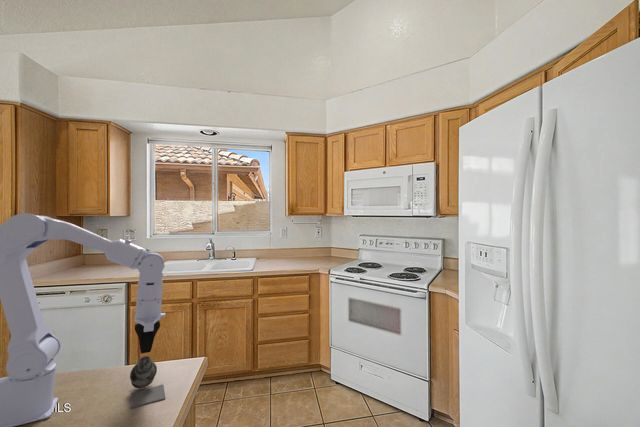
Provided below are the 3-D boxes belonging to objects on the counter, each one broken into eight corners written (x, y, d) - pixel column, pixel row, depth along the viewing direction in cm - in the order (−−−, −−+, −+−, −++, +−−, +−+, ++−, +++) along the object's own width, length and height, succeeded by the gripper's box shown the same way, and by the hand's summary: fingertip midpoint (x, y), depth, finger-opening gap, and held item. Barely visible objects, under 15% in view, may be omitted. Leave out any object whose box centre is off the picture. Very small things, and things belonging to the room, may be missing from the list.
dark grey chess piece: (161, 371, 75) (164, 353, 68) (144, 394, 70) (146, 377, 64) (141, 361, 75) (143, 342, 68) (124, 383, 70) (123, 365, 63)
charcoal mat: (130, 408, 63) (130, 407, 63) (131, 393, 69) (131, 392, 69) (165, 399, 67) (165, 397, 67) (163, 385, 73) (163, 384, 73)
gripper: (169, 302, 68) (165, 359, 67) (164, 292, 81) (161, 339, 79) (135, 306, 65) (130, 366, 63) (135, 294, 77) (131, 344, 76)
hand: (145, 351), depth 71 cm, fingers closed
